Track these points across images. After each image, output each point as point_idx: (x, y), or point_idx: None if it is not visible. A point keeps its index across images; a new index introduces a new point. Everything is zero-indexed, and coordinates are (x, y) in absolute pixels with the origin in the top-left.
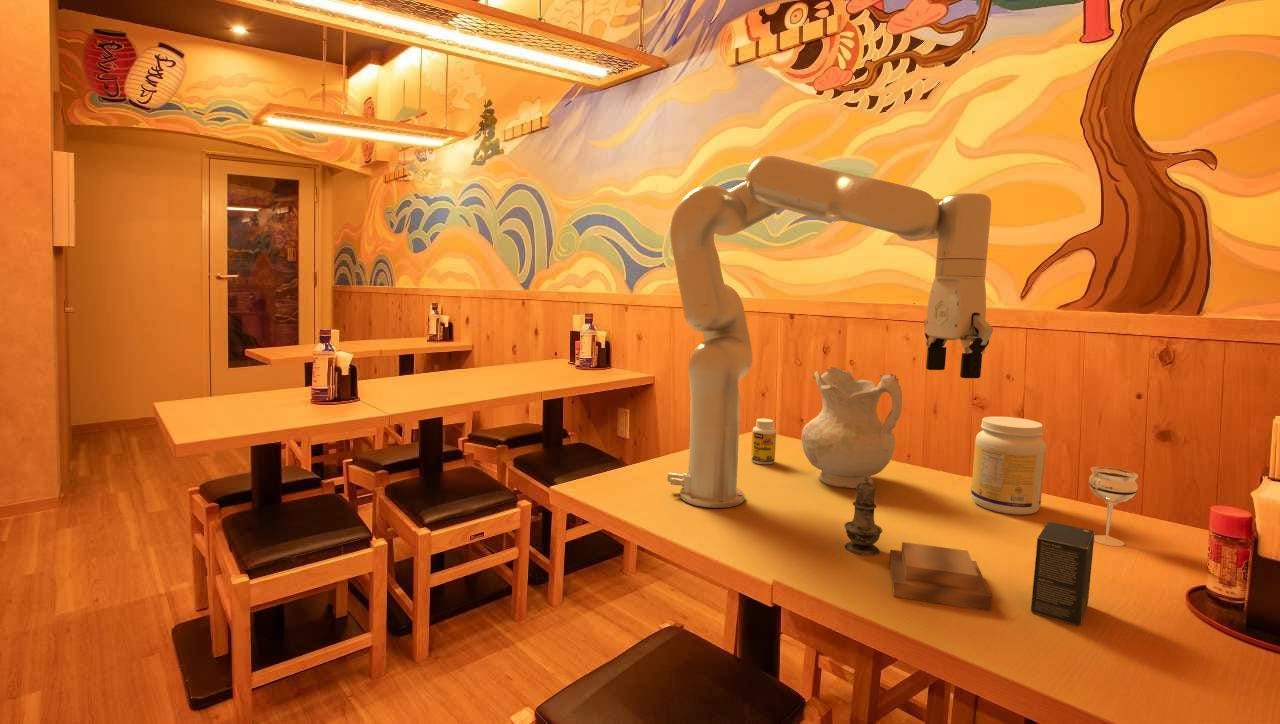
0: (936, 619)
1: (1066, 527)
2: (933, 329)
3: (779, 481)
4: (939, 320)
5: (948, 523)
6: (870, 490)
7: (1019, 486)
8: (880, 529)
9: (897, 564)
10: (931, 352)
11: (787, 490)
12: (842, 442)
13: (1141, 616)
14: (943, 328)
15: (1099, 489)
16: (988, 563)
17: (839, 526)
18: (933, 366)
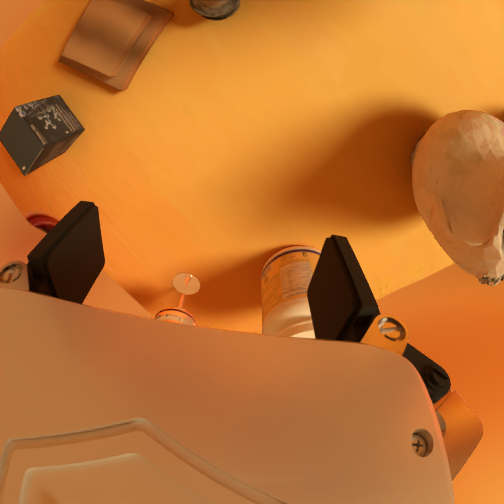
0: (67, 11)
1: (29, 154)
2: (286, 392)
3: (465, 78)
4: (169, 491)
5: (267, 164)
6: None
7: (266, 283)
8: (200, 11)
9: (132, 2)
10: (344, 291)
11: (436, 58)
12: (453, 130)
13: (52, 180)
14: (80, 381)
15: (169, 309)
16: (147, 122)
17: (297, 18)
18: (323, 259)
